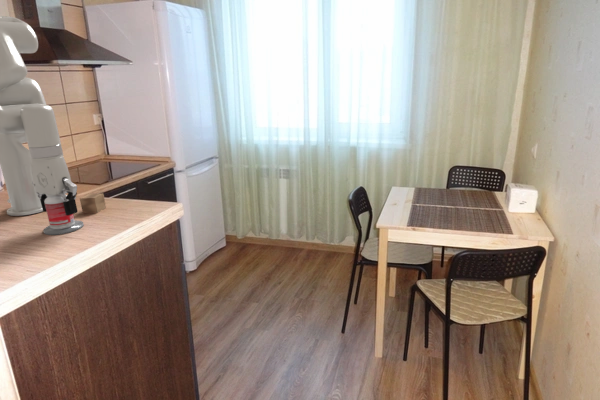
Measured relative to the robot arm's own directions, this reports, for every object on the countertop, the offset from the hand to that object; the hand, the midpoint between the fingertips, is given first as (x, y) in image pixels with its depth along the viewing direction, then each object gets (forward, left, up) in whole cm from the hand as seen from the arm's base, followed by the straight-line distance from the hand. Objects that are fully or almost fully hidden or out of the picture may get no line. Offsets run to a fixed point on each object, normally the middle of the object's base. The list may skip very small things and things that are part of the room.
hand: (60, 212), depth 114 cm
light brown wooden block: (-6, +15, -5) cm, 17 cm away
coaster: (0, 0, -5) cm, 5 cm away
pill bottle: (0, 0, -4) cm, 5 cm away
